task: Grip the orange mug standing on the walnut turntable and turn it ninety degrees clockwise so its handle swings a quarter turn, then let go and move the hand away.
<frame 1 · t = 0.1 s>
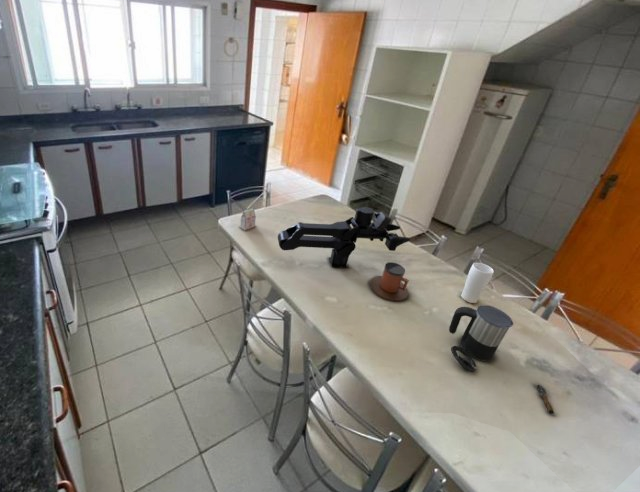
hand: (404, 233, 137), 17 cm above the table, tool horizontal, fingers open, 9 cm apart
milk frother: (470, 355, 104), on the table
drinking glass: (468, 299, 127), on the table
orange mug: (394, 278, 127), point 6 cm above the table, hinge at 0.0°
turntable: (388, 289, 130), on the table
milk carton: (247, 227, 168), on the table
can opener: (544, 399, 91), on the table
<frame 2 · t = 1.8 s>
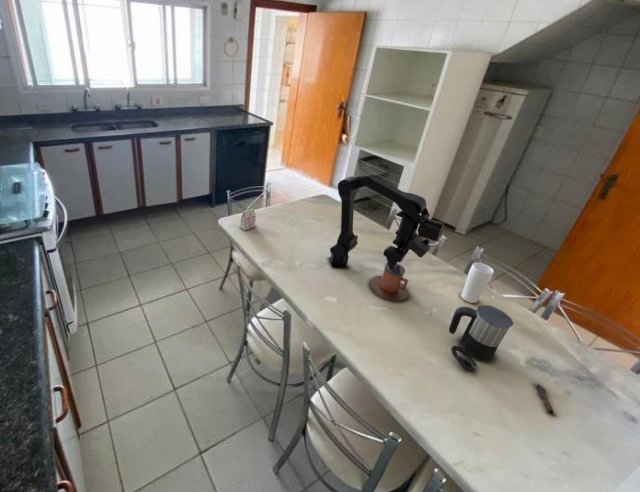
hand: (395, 264, 125), 12 cm above the table, tool pointing down, fingers open, 9 cm apart
nothing on the table moved.
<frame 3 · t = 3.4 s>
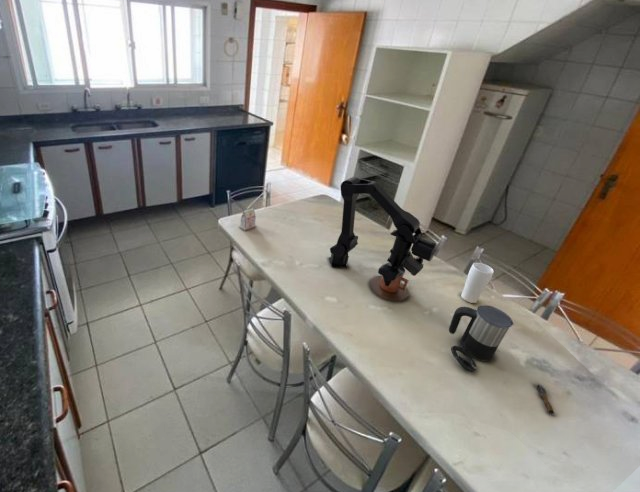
hand: (390, 281, 128), 4 cm above the table, tool pointing down, fingers closed on orange mug, 7 cm apart
orange mug: (394, 278, 127), point 6 cm above the table, hinge at 0.0°, touching gripper
everything else where it was.
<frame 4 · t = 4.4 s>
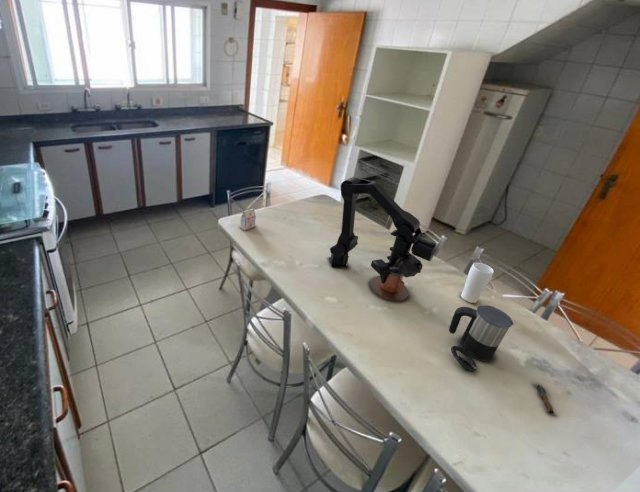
hand: (390, 281, 128), 4 cm above the table, tool pointing down, fingers closed on orange mug, 7 cm apart
orange mug: (393, 279, 127), point 6 cm above the table, hinge at -29.1°, touching gripper
everything else where it was.
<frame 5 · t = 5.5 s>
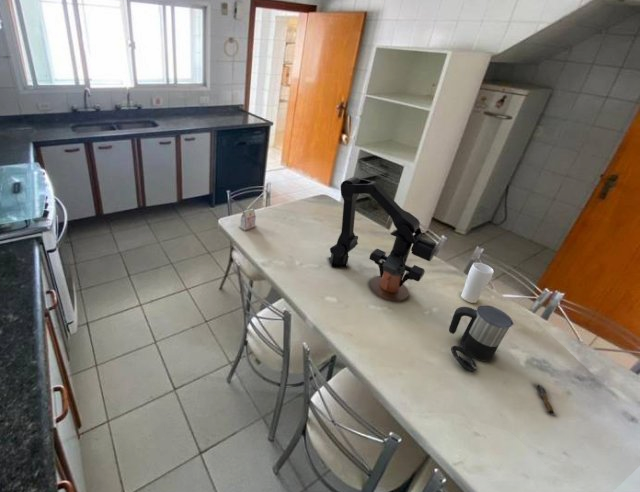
hand: (390, 281, 128), 4 cm above the table, tool pointing down, fingers closed on orange mug, 7 cm apart
orange mug: (391, 278, 127), point 6 cm above the table, hinge at -89.1°, touching gripper
everything else where it was.
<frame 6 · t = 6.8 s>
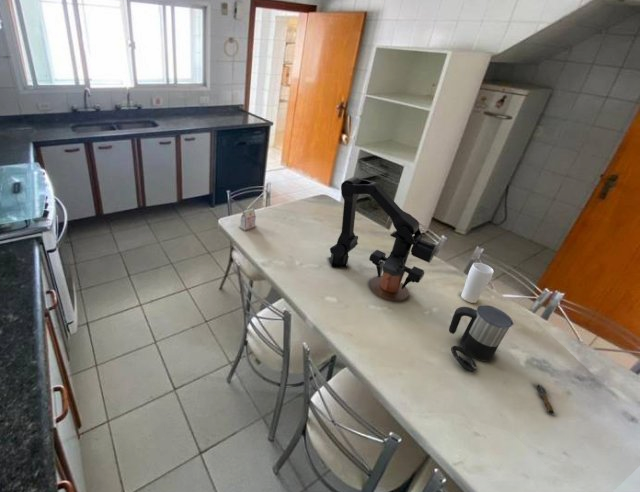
hand: (390, 282, 129), 3 cm above the table, tool pointing down, fingers open, 9 cm apart
orange mug: (391, 278, 127), point 6 cm above the table, hinge at -89.2°
everything else where it was.
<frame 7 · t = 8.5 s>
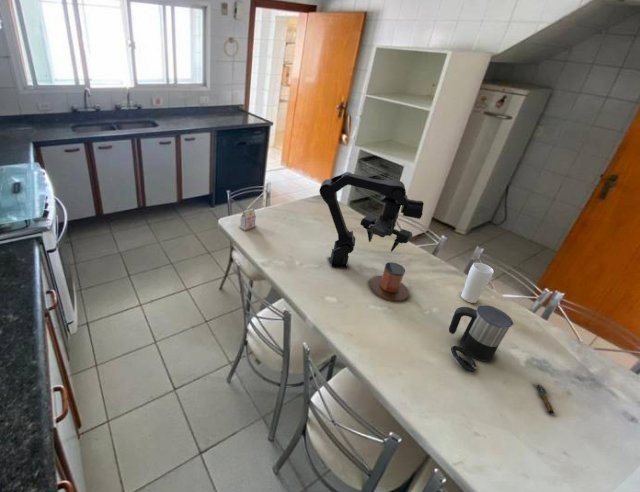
hand: (380, 246, 134), 13 cm above the table, tool pointing down, fingers open, 9 cm apart
nothing on the table moved.
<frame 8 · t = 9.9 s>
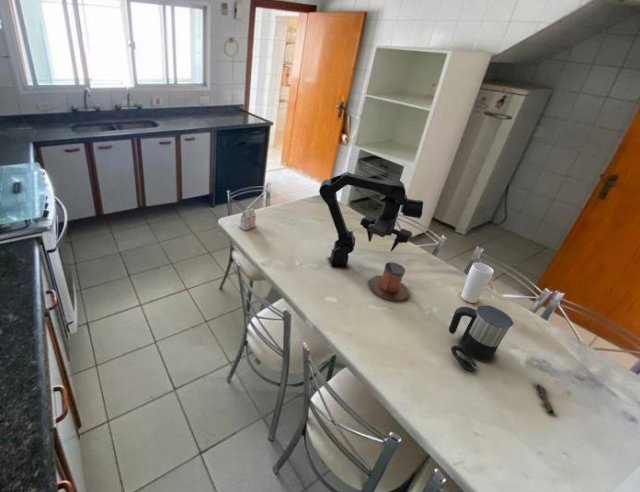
hand: (380, 246, 134), 13 cm above the table, tool pointing down, fingers open, 9 cm apart
nothing on the table moved.
at the end: orange mug at -89° (first picture: +0°); the gripper is holding nothing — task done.
